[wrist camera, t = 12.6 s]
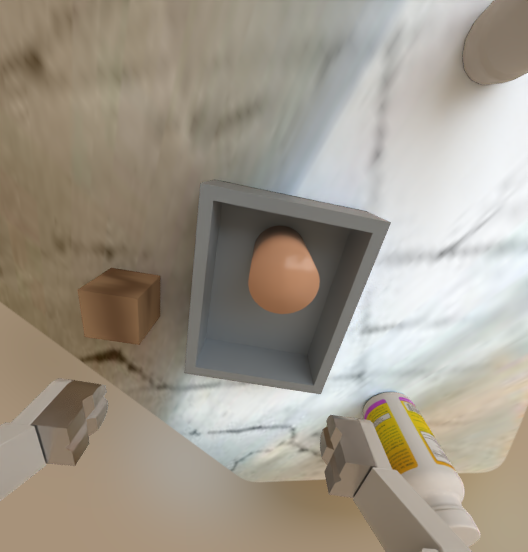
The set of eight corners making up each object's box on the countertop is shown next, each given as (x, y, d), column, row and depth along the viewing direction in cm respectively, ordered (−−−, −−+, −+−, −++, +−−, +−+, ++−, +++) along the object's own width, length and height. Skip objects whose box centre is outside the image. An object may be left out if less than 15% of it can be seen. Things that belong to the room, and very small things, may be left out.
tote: (197, 340, 29) (184, 373, 24) (214, 179, 22) (200, 182, 17) (312, 359, 30) (320, 394, 25) (365, 211, 22) (390, 222, 18)
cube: (115, 308, 27) (84, 336, 23) (111, 267, 25) (77, 289, 21) (160, 315, 28) (139, 344, 23) (160, 275, 26) (137, 298, 21)
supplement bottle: (359, 424, 34) (407, 557, 23) (362, 390, 32) (418, 521, 20) (408, 422, 34) (481, 555, 22) (415, 387, 31) (503, 519, 20)
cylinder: (258, 220, 22) (255, 243, 16) (311, 231, 23) (328, 258, 16) (249, 269, 24) (242, 307, 18) (297, 279, 25) (308, 319, 18)
